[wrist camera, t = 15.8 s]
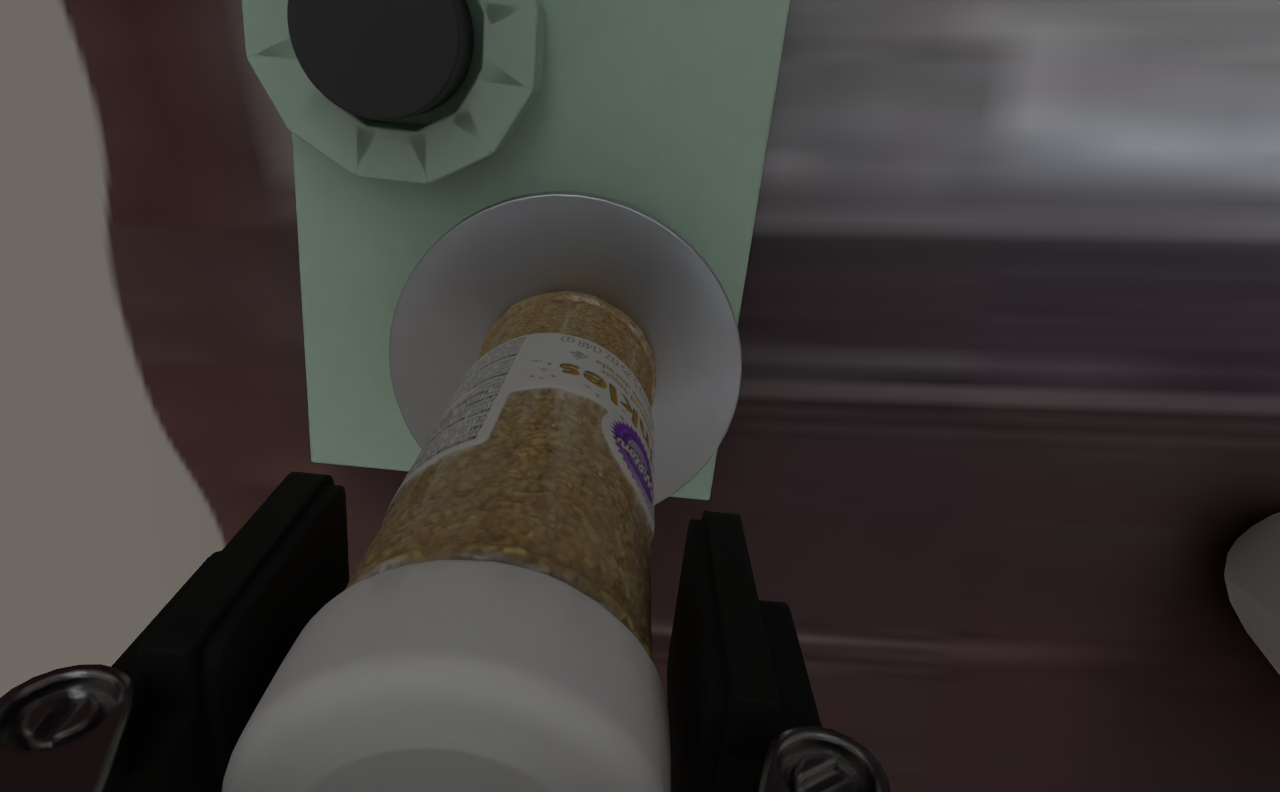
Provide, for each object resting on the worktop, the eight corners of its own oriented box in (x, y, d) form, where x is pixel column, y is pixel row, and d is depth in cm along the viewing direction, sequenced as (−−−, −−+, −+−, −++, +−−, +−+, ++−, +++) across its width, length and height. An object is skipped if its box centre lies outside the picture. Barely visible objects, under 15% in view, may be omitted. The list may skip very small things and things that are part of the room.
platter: (391, 170, 19) (385, 172, 18) (767, 211, 19) (770, 215, 19) (395, 499, 22) (391, 509, 22) (713, 530, 22) (715, 539, 22)
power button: (310, -68, 17) (280, -81, 16) (476, -48, 17) (462, -59, 16) (318, 107, 19) (291, 110, 17) (472, 125, 19) (457, 129, 17)
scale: (286, -165, 19) (224, -205, 16) (798, -101, 19) (824, -129, 16) (319, 441, 25) (278, 488, 22) (705, 479, 25) (713, 530, 22)
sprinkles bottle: (691, 383, 20) (768, 886, 8) (559, 482, 21) (442, 1062, 9) (573, 245, 19) (437, 591, 6) (438, 360, 20) (103, 841, 8)
